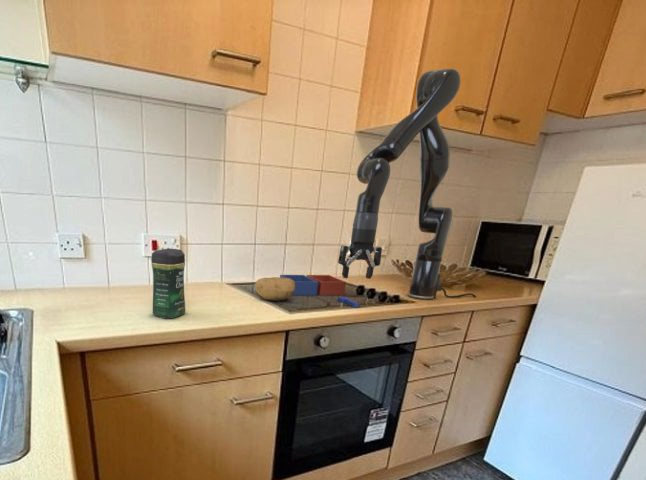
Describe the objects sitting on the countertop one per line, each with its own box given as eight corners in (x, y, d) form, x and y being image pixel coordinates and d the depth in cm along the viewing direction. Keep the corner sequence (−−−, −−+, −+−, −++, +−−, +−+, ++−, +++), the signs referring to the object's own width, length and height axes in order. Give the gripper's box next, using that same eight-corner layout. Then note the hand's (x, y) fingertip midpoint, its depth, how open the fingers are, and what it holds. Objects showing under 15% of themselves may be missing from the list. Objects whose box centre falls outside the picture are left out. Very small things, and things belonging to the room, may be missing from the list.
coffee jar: (173, 320, 112) (171, 251, 105) (148, 316, 115) (145, 248, 108) (189, 313, 121) (189, 248, 114) (166, 309, 123) (165, 246, 116)
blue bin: (302, 287, 168) (303, 274, 166) (316, 295, 154) (318, 281, 152) (278, 287, 165) (279, 274, 163) (291, 295, 152) (292, 281, 150)
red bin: (328, 287, 170) (329, 275, 168) (344, 295, 157) (346, 282, 155) (305, 287, 168) (306, 274, 166) (319, 295, 154) (321, 281, 152)
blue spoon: (336, 299, 148) (336, 296, 147) (346, 299, 149) (346, 295, 148) (350, 307, 138) (351, 303, 137) (361, 307, 139) (362, 303, 138)
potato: (254, 296, 146) (255, 274, 143) (293, 298, 146) (295, 276, 143) (253, 302, 137) (254, 278, 134) (295, 305, 137) (297, 281, 134)
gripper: (350, 227, 126) (342, 279, 132) (390, 229, 129) (381, 280, 135) (339, 225, 132) (332, 276, 138) (378, 227, 136) (370, 276, 142)
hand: (356, 278), depth 137 cm, fingers open, 8 cm apart
